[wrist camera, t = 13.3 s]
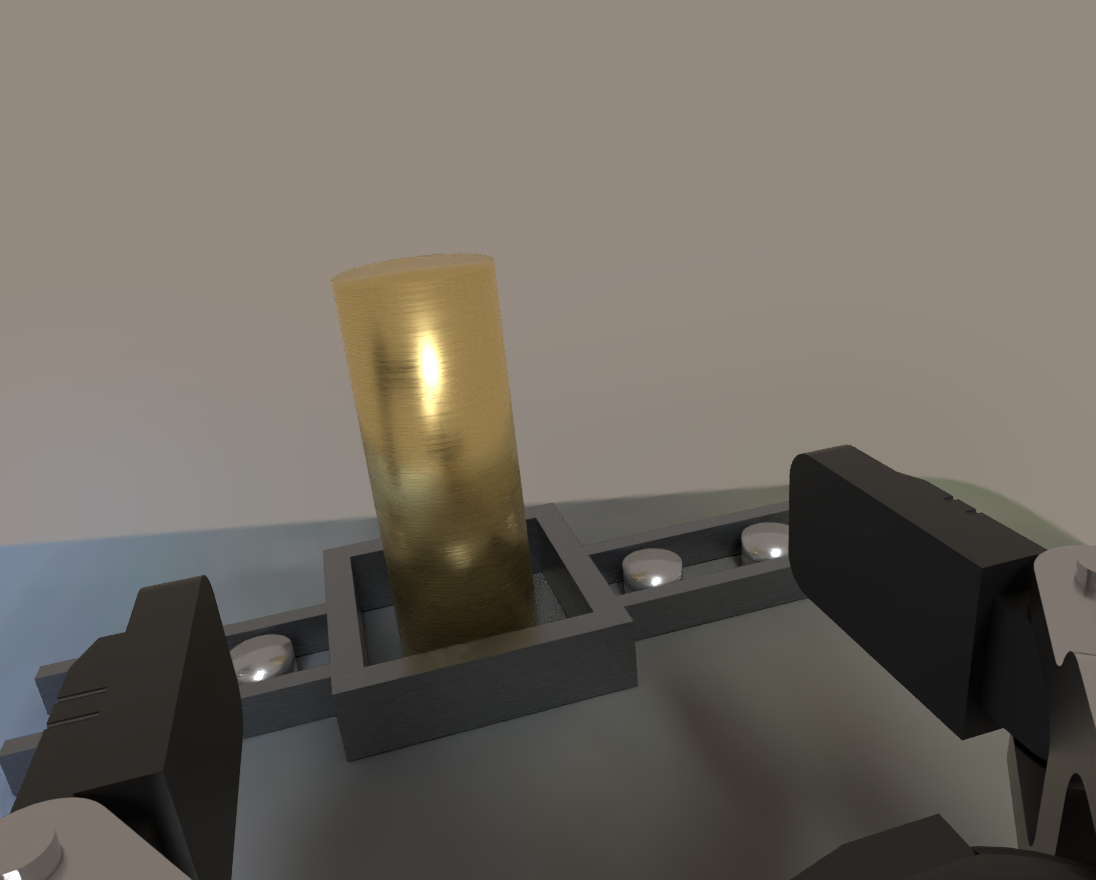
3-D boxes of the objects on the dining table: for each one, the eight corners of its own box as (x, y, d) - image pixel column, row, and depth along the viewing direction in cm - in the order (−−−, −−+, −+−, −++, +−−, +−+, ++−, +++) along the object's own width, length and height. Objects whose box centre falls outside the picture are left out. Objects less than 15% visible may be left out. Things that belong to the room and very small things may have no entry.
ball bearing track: (-12, 855, 19) (-43, 786, 19) (69, 663, 26) (49, 607, 25) (901, 616, 24) (905, 554, 24) (767, 508, 31) (768, 457, 30)
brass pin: (375, 665, 25) (296, 286, 21) (456, 594, 28) (401, 253, 24) (491, 700, 23) (428, 289, 19) (564, 620, 26) (523, 253, 22)
